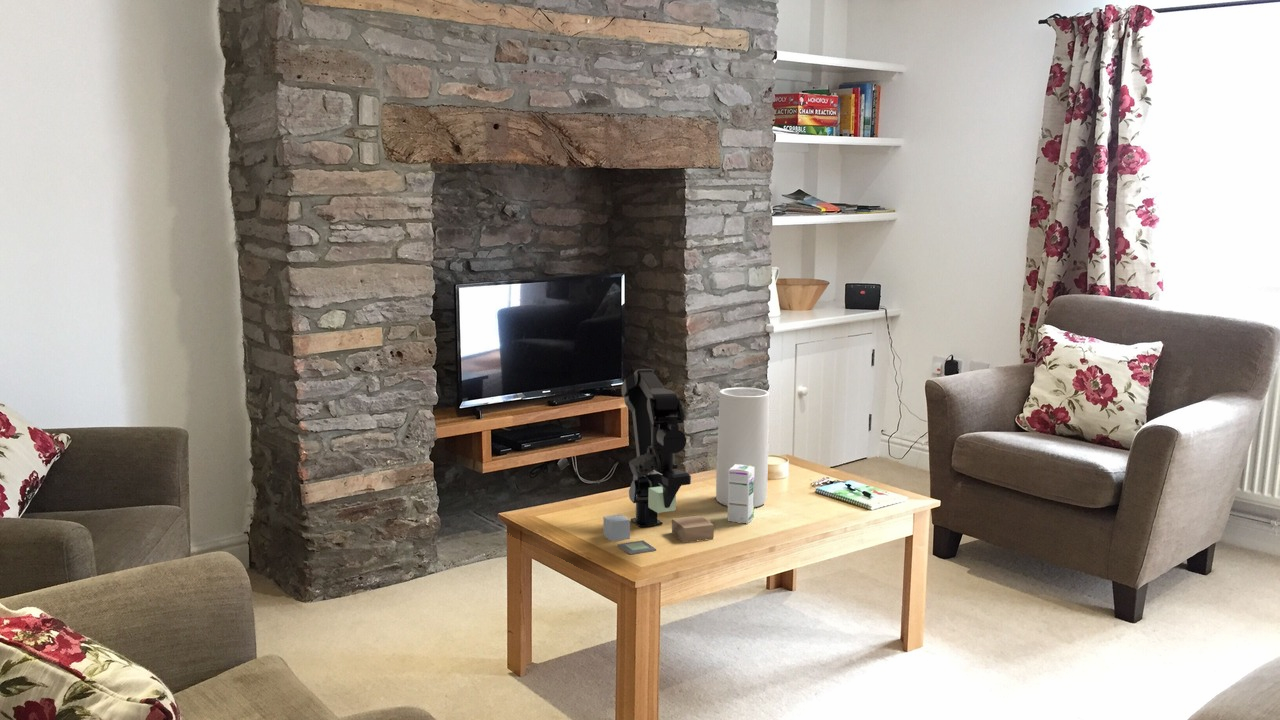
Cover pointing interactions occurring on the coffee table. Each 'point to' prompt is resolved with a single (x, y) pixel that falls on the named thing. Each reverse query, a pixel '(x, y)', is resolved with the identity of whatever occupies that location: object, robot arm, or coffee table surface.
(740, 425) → the vase
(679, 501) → the coffee table surface
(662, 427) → the robot arm
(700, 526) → the walnut block
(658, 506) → the green cube
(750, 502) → the syrup box
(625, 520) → the slate cube
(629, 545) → the card
